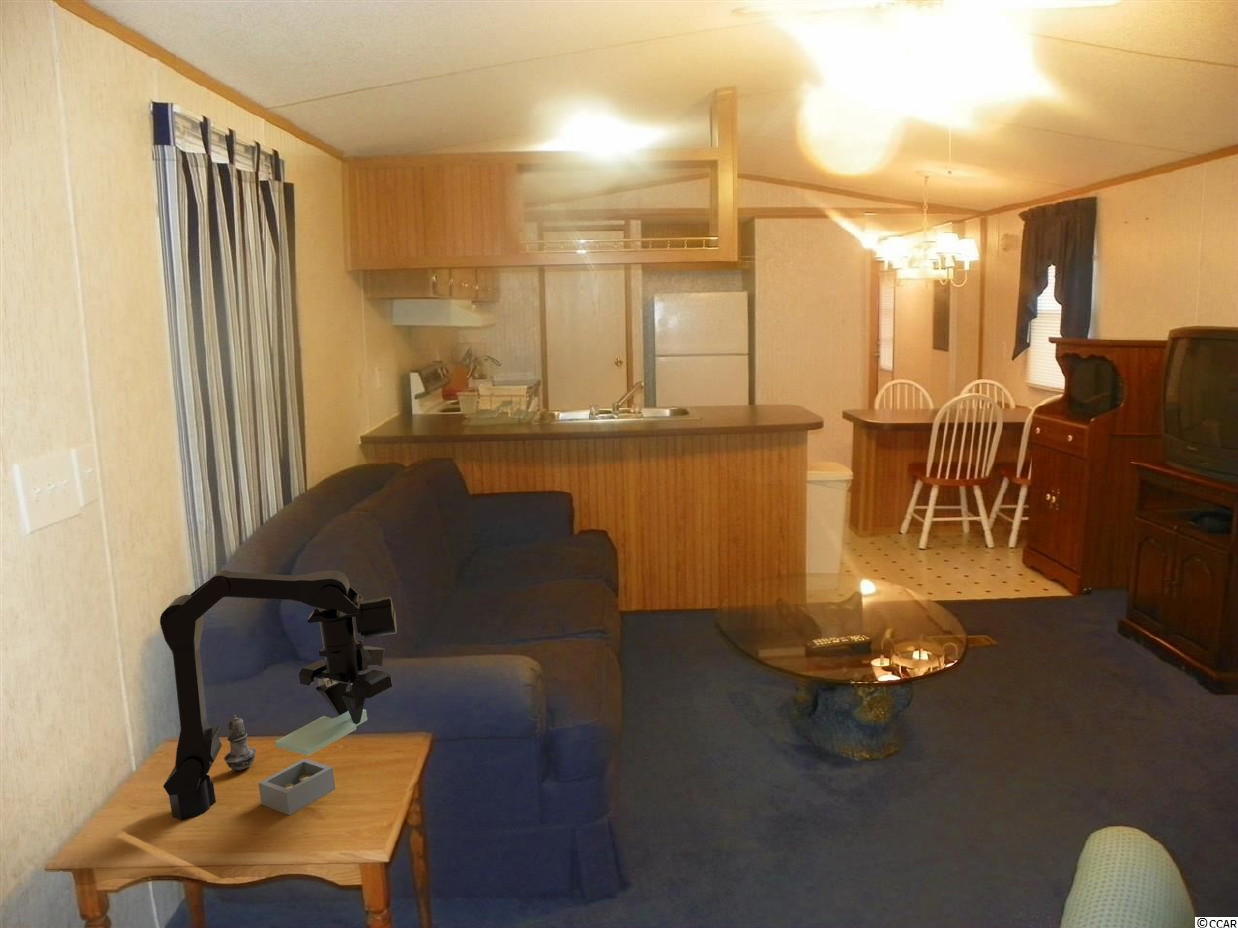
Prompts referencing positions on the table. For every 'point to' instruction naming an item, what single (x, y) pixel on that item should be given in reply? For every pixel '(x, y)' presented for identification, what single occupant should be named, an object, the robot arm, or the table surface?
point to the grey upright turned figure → (238, 747)
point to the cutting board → (319, 734)
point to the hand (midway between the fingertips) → (351, 721)
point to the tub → (296, 786)
